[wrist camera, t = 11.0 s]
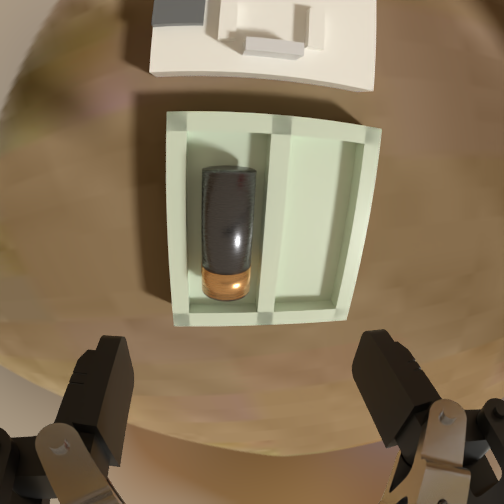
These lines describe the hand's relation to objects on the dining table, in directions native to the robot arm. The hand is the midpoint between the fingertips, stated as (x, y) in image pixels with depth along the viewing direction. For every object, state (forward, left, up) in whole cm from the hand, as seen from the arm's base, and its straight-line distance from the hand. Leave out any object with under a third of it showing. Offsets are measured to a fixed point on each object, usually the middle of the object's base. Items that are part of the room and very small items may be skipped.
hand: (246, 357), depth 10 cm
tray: (-3, 0, -14) cm, 14 cm away
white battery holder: (-2, -17, -14) cm, 22 cm away
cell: (+1, 0, -12) cm, 12 cm away
